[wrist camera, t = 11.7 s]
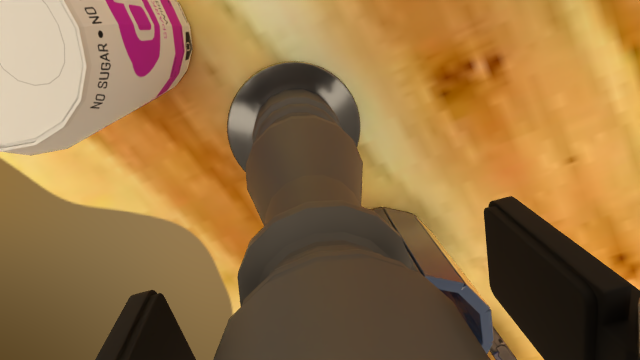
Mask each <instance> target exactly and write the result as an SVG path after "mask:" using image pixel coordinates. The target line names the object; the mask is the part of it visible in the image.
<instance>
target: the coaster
mask: <svg viewBox="0 0 640 360" xmlns="http://www.w3.org/2000/svg"><path fill="white" fill-rule="evenodd" d="M290 89H304V90H307V91H309V92H312V93H314V94H317V95H319V96H320V97H321V98H322V99H323V100H324V101H325V102H326V103H327V104H328V105H329V106H330V107H331V108H332V110H333V111H334V113H335V114H336V115H337V118H338V120H339V123H340V125H341V127H342V130H343V131H344V132H345V133H347V134H348V135H349V136H350V137H351V138H352V139H353V141H354V142H355V145H356V147H357V145H358V142H359V137H360V117H359V112H358V108H357V105H356V103H355V101H354V98H353V96H352V95H351V93H350V91H349V90H348V89H347V87H346V86H345V85H344V84H343V83H342V82H341V81H340V80H339V79H338V78H337V77H336V76H335V75H333V74H332V73H330V72H329V71H327V70H325V69H324V68H322V67H319V66H317V65H314V64H311V63H306V62H298V61H288V62H281V63H276V64H273V65H270V66H267V67H265V68H263V69H261V70H260V71H258V72H257V73H255V74H254V75H252V76H251V77H250V78H249V79H248V80H247V81H246V82H245V83H244V84H243V85H242V87H241V88H240V89H239V91H238V92H237V94H236V96H235V97H234V100H233V102H232V104H231V107H230V110H229V114H228V121H227V133H228V140H229V144H230V147H231V150H232V152H233V155H234V157H235V158H236V160H237V162H238V163H239V165H240V166H241V167H242V169H243V170H244V171H245V172H246V163H247V160H248V158H249V155H250V152H251V149H252V146H253V139H252V134H253V129H254V125H255V122H256V119H257V116H258V113H259V110H260V108H261V107H262V106H263V105H264V104H265V103H266V102H267V101H268V99H269V98H270V97H271V96H273V95H276V94H278V93H280V92H282V91H284V90H290Z"/></svg>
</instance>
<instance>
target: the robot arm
mask: <svg viewBox="0 0 640 360" xmlns="http://www.w3.org/2000/svg"><path fill="white" fill-rule="evenodd" d="M484 220H485V232H486V244H487V256H488V268H489V281H490V287H491V290H492V292H493V294H494V296H495V297H496V299H497V300H498V301H499V303H500V304H501V305H502V306H503V308H504V309H505V310H506V311H507V313H508V314H509V315H510V316H511V318H512V319H513V320H514V322H515V323H516V324H517V325H518V327H519V328H520V329H521V330H522V332H523V333H524V334H525V336H526V337H527V338H528V339H529V341H530V342H531V343H532V344H533V346H534V347H535V348H536V349H537V351H538V352H539V353H540V355H541V356H542V357H543V358H544V360H640V290H638V289H637V288H636V287H634V286H633V285H632V284H630V283H629V282H628V281H626V280H625V279H623V278H622V277H621V276H619V275H618V274H617V273H615V272H614V271H613V270H611V269H610V268H609V267H607V266H606V265H605V264H603V263H602V262H601V261H599V260H598V259H596V258H595V257H594V256H592V255H591V254H590V253H588V252H587V251H586V250H584V249H583V248H582V247H580V246H579V245H578V244H576V243H575V242H574V241H572V240H571V239H569V238H568V237H567V236H565V235H564V234H563V233H561V232H560V231H558V230H557V229H556V228H554V227H553V226H552V225H550V224H549V223H548V222H546V221H545V220H544V219H542V218H541V217H540V216H538V215H537V214H536V213H534V212H533V211H532V210H530V209H529V208H527V207H526V206H525V205H523V204H522V203H521V202H519V201H518V200H517V199H515V198H514V197H512V196H511V197H506V198H502V199H498V200H494V201H491V202H490V204H489V207H488V208H485V210H484ZM96 360H196V359H195V357H194V355H193V353H192V351H191V349H190V347H189V345H188V343H187V341H186V339H185V337H184V335H183V333H182V331H181V329H180V327H179V325H178V323H177V321H176V319H175V317H174V315H173V313H172V311H171V309H170V307H169V305H168V303H167V301H166V299H165V297H164V296H163V295H162V294H161V293H159V294H157V293H156V292H155V291H154V290H150V291H146V292H142V293H139V294H135V295H132V296H131V297H130V298H129V299H128V302H127V303H126V305H125V307H124V309H123V310H122V312H121V314H120V316H119V318H118V319H117V321H116V323H115V325H114V327H113V329H112V330H111V332H110V334H109V336H108V338H107V339H106V341H105V343H104V345H103V347H102V349H101V350H100V352H99V354H98V356H97V358H96Z"/></svg>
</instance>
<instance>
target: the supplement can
mask: <svg viewBox="0 0 640 360" xmlns="http://www.w3.org/2000/svg"><path fill="white" fill-rule="evenodd" d="M191 53H192V40H191V30H190V25H189V23H188V21H187V19H186V16H185V14H184V12H183V10H182V8H181V5H180V4H179V3H178V2H177V0H0V151H1V152H8V153H16V154H24V155H36V154H41V153H47V152H52V151H57V150H62V149H68V148H69V147H71V146H73V145H75V144H77V143H78V142H80V141H82V140H84V139H85V138H87V137H89V136H91V135H92V134H94V133H96V132H98V131H99V130H101V129H103V128H105V127H106V126H108V125H110V124H112V123H113V122H115V121H117V120H119V119H121V118H122V117H124V116H126V115H128V114H129V113H131V112H133V111H135V110H136V109H138V108H140V107H142V106H143V105H145V104H147V103H149V102H150V101H152V100H154V99H156V98H157V97H159V96H161V95H162V94H164V93H166V92H167V91H169V90H170V89H172V88H174V87H175V86H176V85H177V84H178V82H179V81H180V80H181V78H182V77H183V75H184V74H185V73H186V71H187V70H188V66H189V62H190V58H191Z"/></svg>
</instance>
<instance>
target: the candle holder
mask: <svg viewBox="0 0 640 360" xmlns="http://www.w3.org/2000/svg"><path fill="white" fill-rule="evenodd" d="M252 139H253V146H252V149H251V152H250V155H249V158H248V160H247V163H246V179H247V190H248V192H249V194H250V196H251V198H252V200H253V202H254V204H255V207H256V209H257V211H258V213H259V215H260V218H261V220H262V222H263V224H264V227H263V228H262V229H261V230H260V231H259V232H258V233H257V234H256V235H255V236H254V237H253V238H252V239H251V241H250V243H249V245H248V248H247V251H246V253H245V256H244V259H243V261H242V264H241V266H240V269H239V272H238V285H239V295H240V304H241V308H240V309H239V310H238V311H237V312H236V313H235V314H233V315H232V316H231V317H230V319H229V320H228V323H227V326H226V328H225V331H224V333H223V336H222V339H221V341H220V344H219V346H218V349H217V351H216V354H215V357H214V360H490V358H489V357H488V355H487V354H486V352H485V351H484V349H483V348H482V346H481V344H480V343H479V341H478V340H477V338H476V337H475V335H474V334H473V332H472V331H471V329H470V328H469V326H468V324H467V323H466V321H465V320H464V318H463V317H462V315H461V314H460V312H459V311H458V309H457V307H456V306H455V304H454V303H453V301H452V300H451V299H450V298H448V297H447V296H446V295H445V294H444V293H443V292H442V291H440V290H439V289H438V288H437V287H436V286H435V285H434V284H432V283H431V282H430V281H429V280H428V279H427V278H426V277H424V276H423V275H422V274H421V273H420V272H417V271H413V270H412V263H411V260H410V258H409V255H408V253H407V250H406V248H405V245H404V243H403V240H402V238H401V236H400V234H399V233H398V232H397V231H396V230H395V229H394V228H393V227H391V226H390V225H389V224H388V223H387V222H386V221H385V220H384V219H383V218H381V217H380V216H379V215H378V214H377V213H376V212H375V211H373V210H370V209H367V208H364V207H361V193H362V165H363V162H362V160H361V157H360V155H359V152H358V150H357V147H356V145H355V142H354V141H353V139H352V138H351V137H350V136H349V135H348V134H347V133H345V132H344V131H343V130H342V127H341V125H340V123H339V120H338V118H337V115H336V114H335V113H334V111H333V110H332V108H331V107H330V106H329V105H328V104H327V103H326V102H325V101H324V100H323V99H322V98H321V97H320V96H319V95H317V94H314V93H312V92H309V91H307V90H304V89H290V90H284V91H282V92H280V93H278V94H276V95H273V96H271V97H270V98H269V99H268V101H267V102H266V103H265V104H264V105H263V106H262V107H261V108H260V110H259V113H258V116H257V119H256V122H255V125H254V129H253V134H252Z"/></svg>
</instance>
